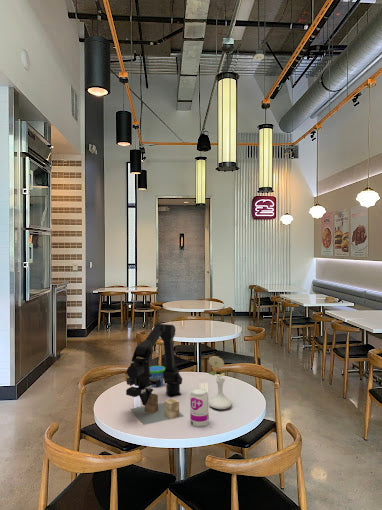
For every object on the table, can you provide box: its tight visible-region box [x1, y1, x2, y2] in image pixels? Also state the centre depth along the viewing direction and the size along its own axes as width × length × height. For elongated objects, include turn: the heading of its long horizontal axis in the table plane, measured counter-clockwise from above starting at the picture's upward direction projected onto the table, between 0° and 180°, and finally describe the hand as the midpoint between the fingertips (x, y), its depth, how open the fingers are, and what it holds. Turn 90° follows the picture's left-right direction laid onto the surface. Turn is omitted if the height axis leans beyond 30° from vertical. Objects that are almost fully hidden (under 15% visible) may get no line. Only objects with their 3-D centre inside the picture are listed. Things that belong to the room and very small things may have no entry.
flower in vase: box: [208, 355, 233, 410], centre depth 191 cm, size 13×11×25 cm
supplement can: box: [189, 388, 210, 428], centre depth 171 cm, size 8×8×15 cm
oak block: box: [163, 397, 180, 420], centre depth 179 cm, size 5×5×7 cm
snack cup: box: [150, 365, 166, 388], centre depth 224 cm, size 16×10×10 cm
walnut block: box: [145, 393, 159, 414], centre depth 185 cm, size 4×5×8 cm
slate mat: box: [130, 402, 185, 426], centre depth 184 cm, size 20×20×1 cm
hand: (144, 405), depth 181 cm, fingers closed
